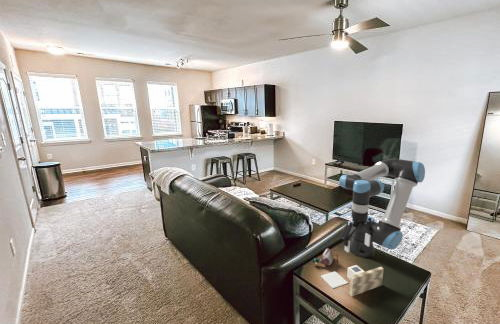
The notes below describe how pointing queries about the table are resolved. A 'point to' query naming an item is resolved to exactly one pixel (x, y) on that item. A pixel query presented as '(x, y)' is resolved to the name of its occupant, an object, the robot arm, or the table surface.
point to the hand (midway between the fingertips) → (357, 248)
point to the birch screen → (366, 281)
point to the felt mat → (334, 279)
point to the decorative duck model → (325, 258)
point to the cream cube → (354, 271)
